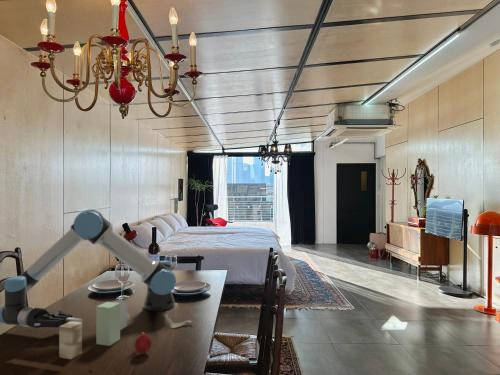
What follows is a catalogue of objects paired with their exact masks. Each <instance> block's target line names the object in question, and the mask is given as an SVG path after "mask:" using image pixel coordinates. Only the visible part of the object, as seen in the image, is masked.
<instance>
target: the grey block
mask: <svg viewBox="0 0 500 375" xmlns="http://www.w3.org/2000/svg"><path fill="white" fill-rule="evenodd" d="M113 302H114V303H120V331H122V330H123V329H125V328H126V327H128V301H127V300H121V299H120V300H119V299H116V300H114V301H113Z"/></svg>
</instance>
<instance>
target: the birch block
mask: <svg viewBox="0 0 500 375" xmlns="http://www.w3.org/2000/svg"><path fill="white" fill-rule="evenodd" d="M58 330H59V332H58V336H59V337H58V338H59V340H58V342H59V344H58V345H59V346H58V347H59V348H58V355H59V356H58V358H60V359H61V358H62V359H68V360H73V359H74V358H75V357H78V356H79V355H81V354H82V353H83V326H82V323H81V322H73V321H70V322H68V323H66V324H63V325H61V326H59V328H58Z"/></svg>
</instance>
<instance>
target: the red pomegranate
mask: <svg viewBox="0 0 500 375" xmlns="http://www.w3.org/2000/svg"><path fill="white" fill-rule="evenodd" d="M152 344H153V343H152V338H151V337H150V336H149V335H148V334H146V333H145V332H144V331H142V332H141V334H140V335H138V336H137V338H136V339H135V342H134V348H135V351H136V352H138V353H139V354H141V355H142V356H145V354H146V353H147V352H149V350H150V349H151V347H152Z"/></svg>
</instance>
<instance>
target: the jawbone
mask: <svg viewBox="0 0 500 375" xmlns="http://www.w3.org/2000/svg"><path fill="white" fill-rule="evenodd" d="M163 317H164V324H165V325H166V326H167V327H168V328H169V329H171V330H175V329H178V328H181V327H188V323H190V324H191V323H193V321H192V320H184V321H182V322H174V321H172V318H169V315H168V314H167V313H163Z"/></svg>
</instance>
